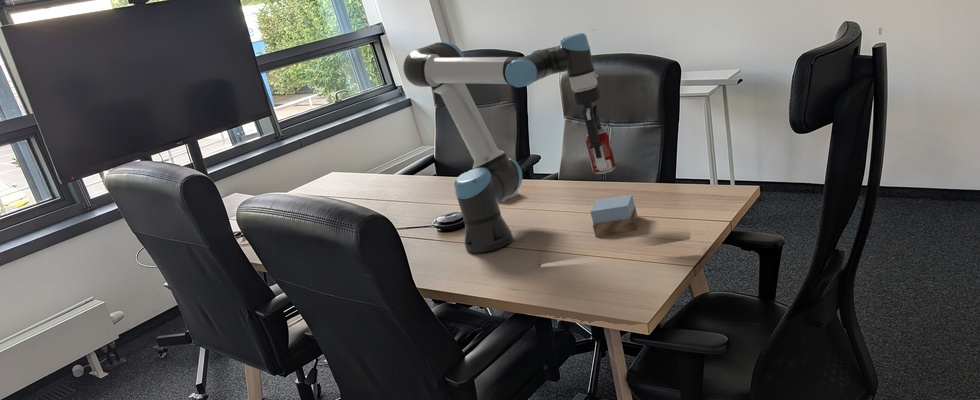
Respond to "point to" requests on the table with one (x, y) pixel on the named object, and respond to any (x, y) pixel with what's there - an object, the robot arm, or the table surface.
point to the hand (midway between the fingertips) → (603, 164)
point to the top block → (612, 209)
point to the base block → (616, 226)
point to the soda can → (606, 150)
